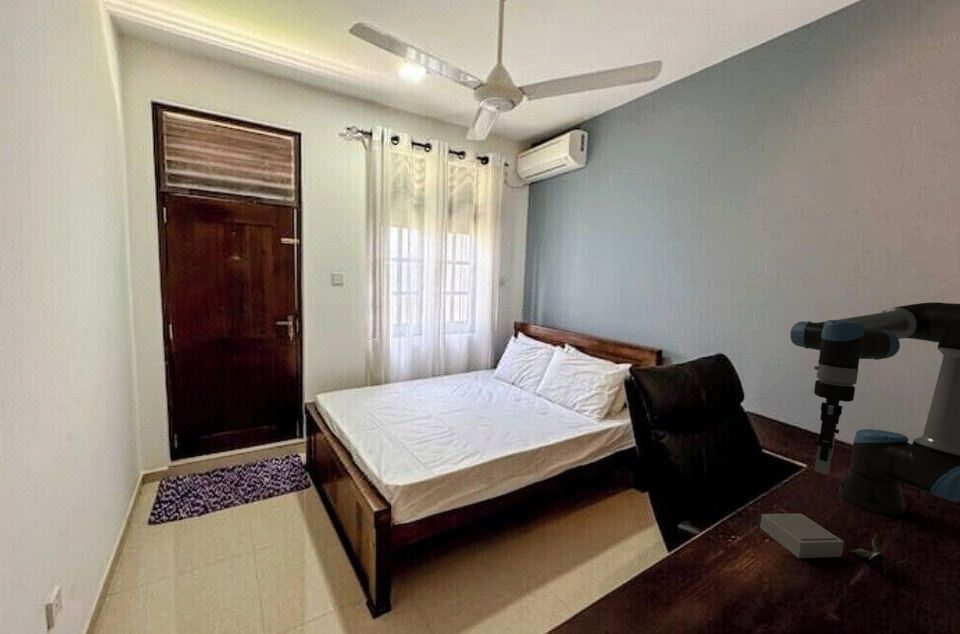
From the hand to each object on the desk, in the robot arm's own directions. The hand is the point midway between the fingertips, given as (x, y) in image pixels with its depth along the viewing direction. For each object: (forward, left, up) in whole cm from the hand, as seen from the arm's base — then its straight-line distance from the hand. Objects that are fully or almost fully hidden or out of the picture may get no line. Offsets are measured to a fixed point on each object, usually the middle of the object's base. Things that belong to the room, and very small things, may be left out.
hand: (823, 464), depth 103 cm
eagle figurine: (-10, +7, -22) cm, 25 cm away
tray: (+2, -1, -22) cm, 22 cm away
